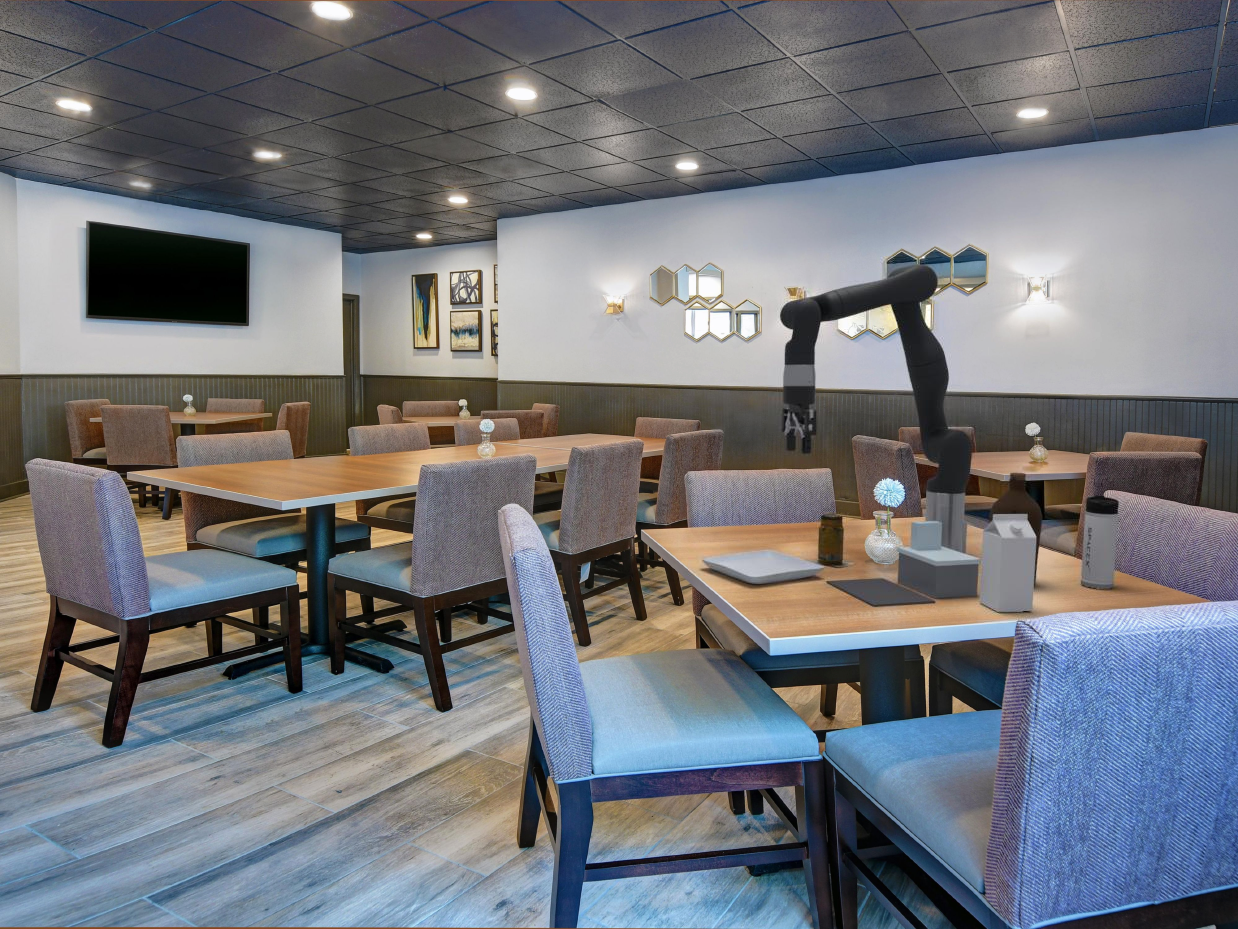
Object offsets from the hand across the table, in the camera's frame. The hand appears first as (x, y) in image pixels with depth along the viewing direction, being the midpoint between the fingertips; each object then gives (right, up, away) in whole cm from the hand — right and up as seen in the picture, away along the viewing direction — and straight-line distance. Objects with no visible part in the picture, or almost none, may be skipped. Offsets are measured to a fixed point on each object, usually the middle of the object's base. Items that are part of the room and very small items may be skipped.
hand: (798, 452), depth 195 cm
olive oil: (+46, -30, -12) cm, 56 cm away
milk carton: (+35, -32, -32) cm, 57 cm away
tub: (+26, -30, -17) cm, 44 cm away
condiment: (+10, -28, +8) cm, 31 cm away
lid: (+26, -24, -18) cm, 40 cm away
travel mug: (+64, -30, -14) cm, 72 cm away
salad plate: (-10, -29, -4) cm, 31 cm away
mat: (+13, -30, -20) cm, 39 cm away
